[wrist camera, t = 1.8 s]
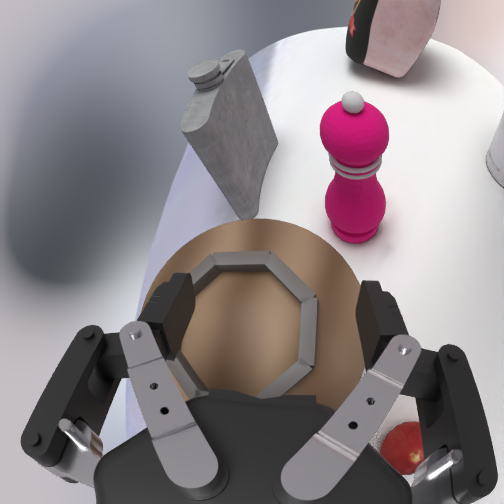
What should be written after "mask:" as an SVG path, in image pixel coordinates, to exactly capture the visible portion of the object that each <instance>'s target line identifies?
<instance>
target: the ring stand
mask: <svg viewBox="0 0 504 504" xmlns="http://www.w3.org/2000/svg"><path fill="white" fill-rule="evenodd" d="M174 272H180V273H190V274H191V276H192V282H193V288H194V294H195V300H196V304H195V310H194V313H193V315H192V318H191V320H190V323H189V325H188V328H187V330H186V333H185V335H184V338H183V340H182V343H181V345H180V348H179V350H178V353H177V355H176V358H175V361H171V360H166V361H165V362H166V364H167V366H168V369H169V371H170V373H171V375H172V377H173V379H174V381H175V383H176V385H177V387H178V389H179V391H180V393H181V395H182V397H183V399H184V401H187V400H190V399H192V398H195V397H199V396H204V395H208V393H209V390H210V388H215V389H223V390H232V391H237V392H241V393H244V394H247V395H250V396H253V397H257V398H260V399H266V398H272V397H279V396H285V395H316V403H321V404H323V405H326V406H328V407H331V408H332V409H334V410H336V411H337V410H338V409H339V407H340V406H341V405H342V404H343V402H344V401H345V400H346V399H347V397H348V396H349V395H350V394H351V392H352V391H353V390H354V388H355V387H356V386H357V384H358V383H359V380H360V378H361V375H362V373H363V370H364V367H365V363H364V357H363V352H362V347H361V342H360V337H359V332H358V327H357V322H356V316H355V312H356V305H357V300H358V296H359V291H360V287H361V286H360V284H359V282H358V280H357V278H356V276H355V274H354V273H353V271H352V269H351V268H350V266H349V265H348V264H347V262H346V261H345V260H344V258H343V257H342V256H341V255H340V254H339V253H338V252H337V251H336V250H335V249H334V248H333V247H332V246H331V245H330V244H328V243H327V242H326V241H325V240H323V239H322V238H321V237H319V236H317V235H316V234H314V233H312V232H310V231H309V230H307V229H304V228H302V227H299V226H297V225H294V224H291V223H287V222H283V221H279V220H271V219H246V220H238V221H234V222H230V223H226V224H222V225H220V226H217V227H215V228H212V229H210V230H208V231H206V232H204V233H202V234H200V235H198V236H197V237H195V238H194V239H192V240H191V241H189V242H188V243H186V244H185V245H184V246H183V247H182V248H180V249H179V250H178V251H177V252H176V253H175V254H174V255H173V256H172V257H171V258H170V259H169V260H168V261H167V263H166V264H165V265H164V267H163V268H162V269H161V270H160V272H159V273H158V275H157V277H156V278H155V280H154V281H153V283H152V285H151V287H150V289H149V291H148V294H147V296H146V299H145V302H144V304H143V307H142V311H143V309H144V307H145V306H146V304H147V302H149V299H150V297H151V296H152V294H153V293H154V291H155V289H156V288H157V287H158V286H159V285H161V284H162V283H163V282H169V280H170V279H171V277H172V275H173V274H174ZM142 311H141V313H142Z"/></svg>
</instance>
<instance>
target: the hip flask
mask: <svg viewBox="0 0 504 504" xmlns="http://www.w3.org/2000/svg"><path fill="white" fill-rule="evenodd" d="M187 75H188V77H189V79H190V81H191V82H194V84H195V86H196V88H197V89H196V91H195V93H194V94H193V96H192V98H191V100H190V102H189V104H188V106H187V108H186V110H185V113H184V115H183V118H182V121H181V124H180V130H181V131H182V133H183V134H184V135H185V137H186V138H187V140H188V142H189V143H190V145H191V146H192V148H193V149H194V151H195V152H196V154H197V155H198V157H199V158H200V160H201V161H202V163H203V164H204V166H205V167H206V169H207V170H208V172H209V173H210V175H211V176H212V178H213V179H214V181H215V182H216V184H217V185H218V187H219V188H220V190H221V191H222V193H223V194H224V196H225V197H226V199H227V200H228V202H229V203H230V205H231V206H232V208H233V209H234V211H235V212H236V214H237V215H238V217H239V218H240V219H242V220H246V219H252V218H254V217H255V216H256V215H257V213H258V210H259V198H260V191H261V186H262V182H263V178H264V175H265V172H266V169H267V166H268V163H269V161H270V159H271V156H272V154H273V152H274V150H275V149H276V147H277V145H278V141H277V138H276V135H275V132H274V129H273V126H272V123H271V120H270V117H269V114H268V111H267V109H266V106H265V103H264V100H263V97H262V95H261V92H260V89H259V86H258V84H257V81H256V78H255V76H254V73H253V70H252V68H251V65H250V63H249V60H248V57H247V55H246V52H245V51H244V50H234V51H231V52H229V53H227V54H225V55H224V56H223V57H222V58H221V59H220V60H219V61H217V60H206V61H204V62H201V63H199V64H197V65H195V66H193V67H192V68H191V69H190V70H189V72H188V73H187Z"/></svg>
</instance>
